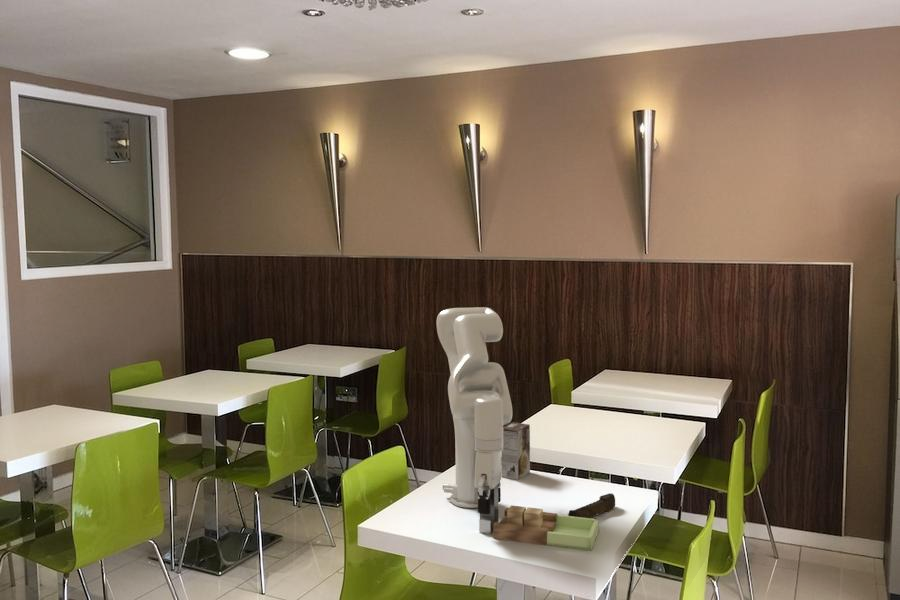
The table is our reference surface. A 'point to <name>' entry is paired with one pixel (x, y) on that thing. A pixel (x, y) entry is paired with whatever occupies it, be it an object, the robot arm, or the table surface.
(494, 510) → the cube with crossbar
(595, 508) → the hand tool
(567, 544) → the tray
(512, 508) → the light brown cube
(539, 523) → the light brown wooden block
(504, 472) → the coffee box
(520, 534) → the slot board
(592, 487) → the table surface
